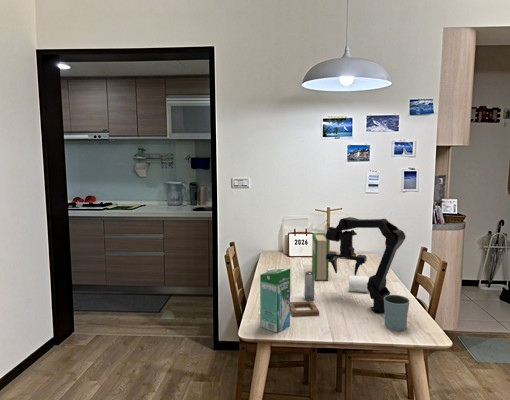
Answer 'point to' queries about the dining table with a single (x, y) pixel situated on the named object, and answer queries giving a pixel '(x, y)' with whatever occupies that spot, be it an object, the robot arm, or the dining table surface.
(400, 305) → the grey-green cup
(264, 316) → the milk carton
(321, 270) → the hardback book
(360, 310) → the dining table surface
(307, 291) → the grey brushed cylinder
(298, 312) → the holder
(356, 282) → the mug
